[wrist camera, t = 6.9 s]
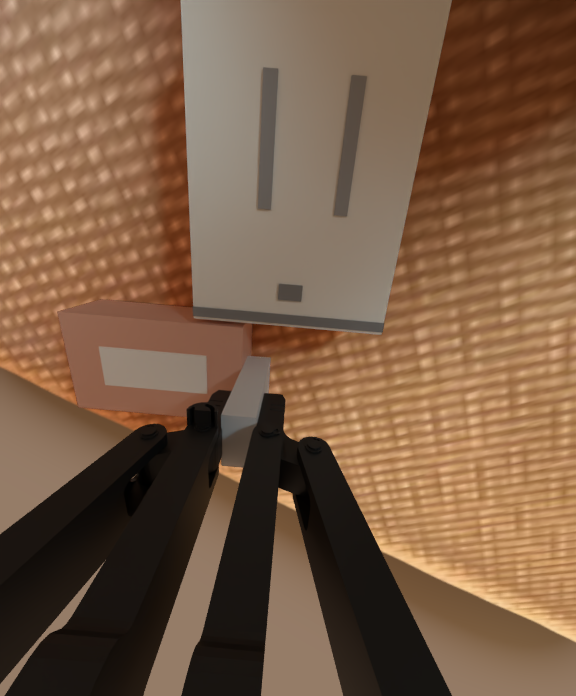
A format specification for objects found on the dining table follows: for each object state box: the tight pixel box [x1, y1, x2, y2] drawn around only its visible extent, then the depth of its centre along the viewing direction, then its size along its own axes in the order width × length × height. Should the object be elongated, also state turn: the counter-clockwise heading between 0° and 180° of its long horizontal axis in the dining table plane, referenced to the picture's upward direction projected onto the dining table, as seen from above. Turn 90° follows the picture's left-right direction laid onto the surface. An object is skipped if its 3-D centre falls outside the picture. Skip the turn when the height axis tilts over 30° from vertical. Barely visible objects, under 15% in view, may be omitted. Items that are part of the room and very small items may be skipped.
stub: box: [57, 299, 252, 417], centre depth 17 cm, size 6×10×4 cm, turn 85°
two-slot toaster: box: [181, 0, 452, 335], centre depth 14 cm, size 13×10×4 cm
